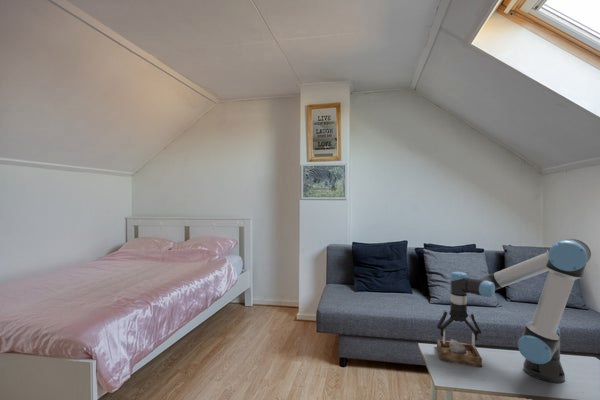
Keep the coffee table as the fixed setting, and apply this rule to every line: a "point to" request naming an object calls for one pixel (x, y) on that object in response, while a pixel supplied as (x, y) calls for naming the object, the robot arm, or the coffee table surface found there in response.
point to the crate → (468, 359)
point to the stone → (456, 347)
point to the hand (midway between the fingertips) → (458, 344)
